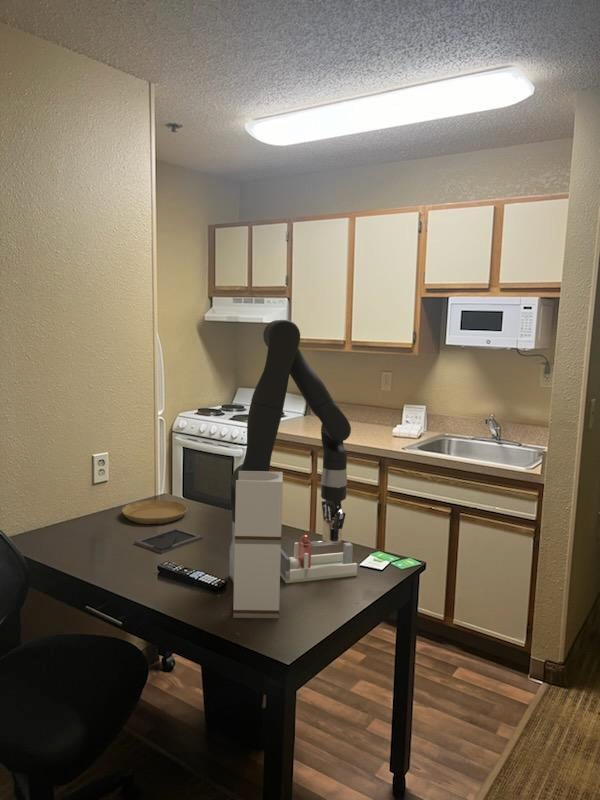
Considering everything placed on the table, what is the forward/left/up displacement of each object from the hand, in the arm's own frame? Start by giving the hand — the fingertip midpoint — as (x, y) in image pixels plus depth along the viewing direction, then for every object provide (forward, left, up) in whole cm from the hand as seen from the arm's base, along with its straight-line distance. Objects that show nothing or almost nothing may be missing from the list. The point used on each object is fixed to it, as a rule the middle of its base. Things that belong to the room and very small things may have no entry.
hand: (332, 538), depth 182 cm
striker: (-4, 0, -8) cm, 9 cm away
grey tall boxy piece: (-28, -18, -10) cm, 35 cm away
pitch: (-5, 0, -10) cm, 11 cm away
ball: (-12, 0, -7) cm, 14 cm away
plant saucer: (-46, +66, -11) cm, 81 cm away
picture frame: (-44, +37, -11) cm, 58 cm away
